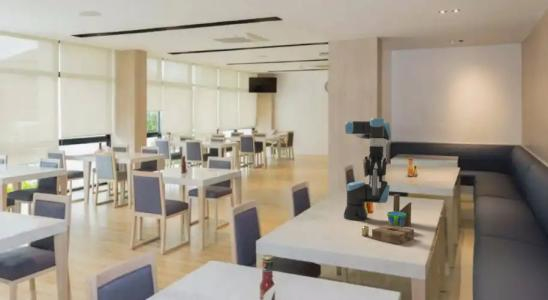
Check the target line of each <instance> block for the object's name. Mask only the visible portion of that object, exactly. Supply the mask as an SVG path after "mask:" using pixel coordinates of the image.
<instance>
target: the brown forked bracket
mask: <svg viewBox="0 0 548 300" xmlns="http://www.w3.org/2000/svg"><path fill="white" fill-rule="evenodd" d="M400 200H401V195H400V194H397V193H396V194H395V193H394V194H393V206H392V207H393V211H396V212H403V213H406V217H405V222H404V226H406V227H410V226H411V225H412V224H411V223H412V202H408V203H407V204H406V205H405V206H403V208H401V209H400V202H401V201H400Z"/></svg>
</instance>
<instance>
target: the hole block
mask: <svg viewBox="0 0 548 300" xmlns="http://www.w3.org/2000/svg"><path fill="white" fill-rule="evenodd" d="M414 236H415V229H412V228H408V227H404V228H403V227H398V226H392V225H389V224H384V225H382V226H379V227H376V228H372V230H371V240H375V241H379V242H380V241H381V242H385V243H390V244H395V245H398V246H399V245H403V244H405V243H407V242H409V241H411V240H414V239H415V237H414Z"/></svg>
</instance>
